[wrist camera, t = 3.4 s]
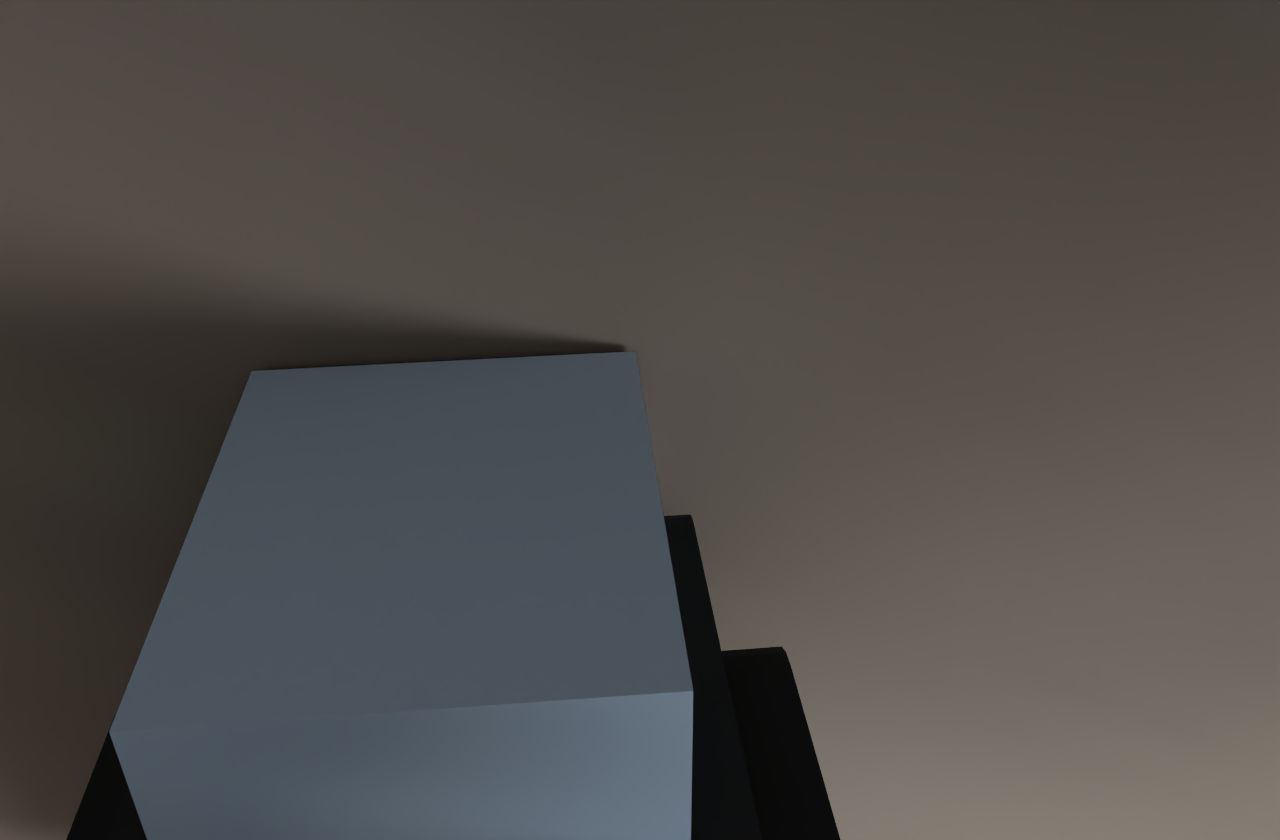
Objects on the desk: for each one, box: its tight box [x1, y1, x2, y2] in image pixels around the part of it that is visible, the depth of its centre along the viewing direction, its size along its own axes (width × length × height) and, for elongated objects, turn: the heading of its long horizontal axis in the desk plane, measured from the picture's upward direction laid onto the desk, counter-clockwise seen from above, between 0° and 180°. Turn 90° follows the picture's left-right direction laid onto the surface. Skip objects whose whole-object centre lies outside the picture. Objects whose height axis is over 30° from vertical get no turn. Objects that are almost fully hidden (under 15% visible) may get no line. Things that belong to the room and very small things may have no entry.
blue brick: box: [109, 351, 693, 840], centre depth 10 cm, size 3×6×4 cm, turn 1°
